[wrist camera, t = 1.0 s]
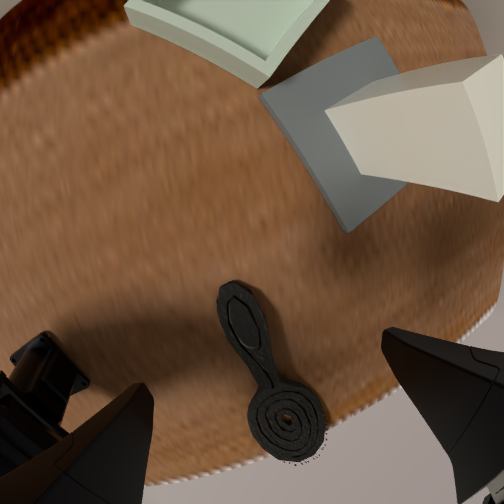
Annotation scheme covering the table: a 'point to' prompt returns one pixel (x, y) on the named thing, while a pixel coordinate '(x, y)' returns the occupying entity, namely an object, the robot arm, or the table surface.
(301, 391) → the hairbrush
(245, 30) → the tray
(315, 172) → the coaster
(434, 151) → the white block
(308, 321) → the table surface
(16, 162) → the table surface
